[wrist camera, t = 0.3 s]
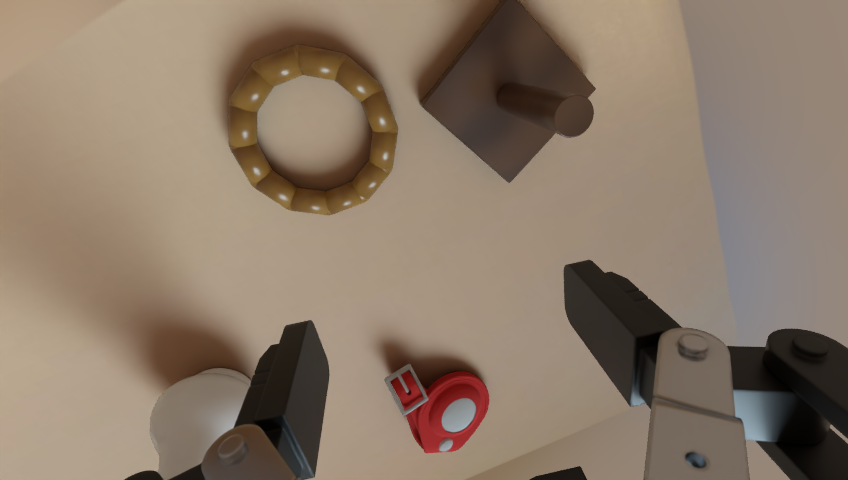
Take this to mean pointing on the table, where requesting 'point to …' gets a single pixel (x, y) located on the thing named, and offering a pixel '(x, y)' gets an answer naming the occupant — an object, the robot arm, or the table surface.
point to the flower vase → (195, 417)
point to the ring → (319, 65)
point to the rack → (511, 92)
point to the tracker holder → (440, 407)
